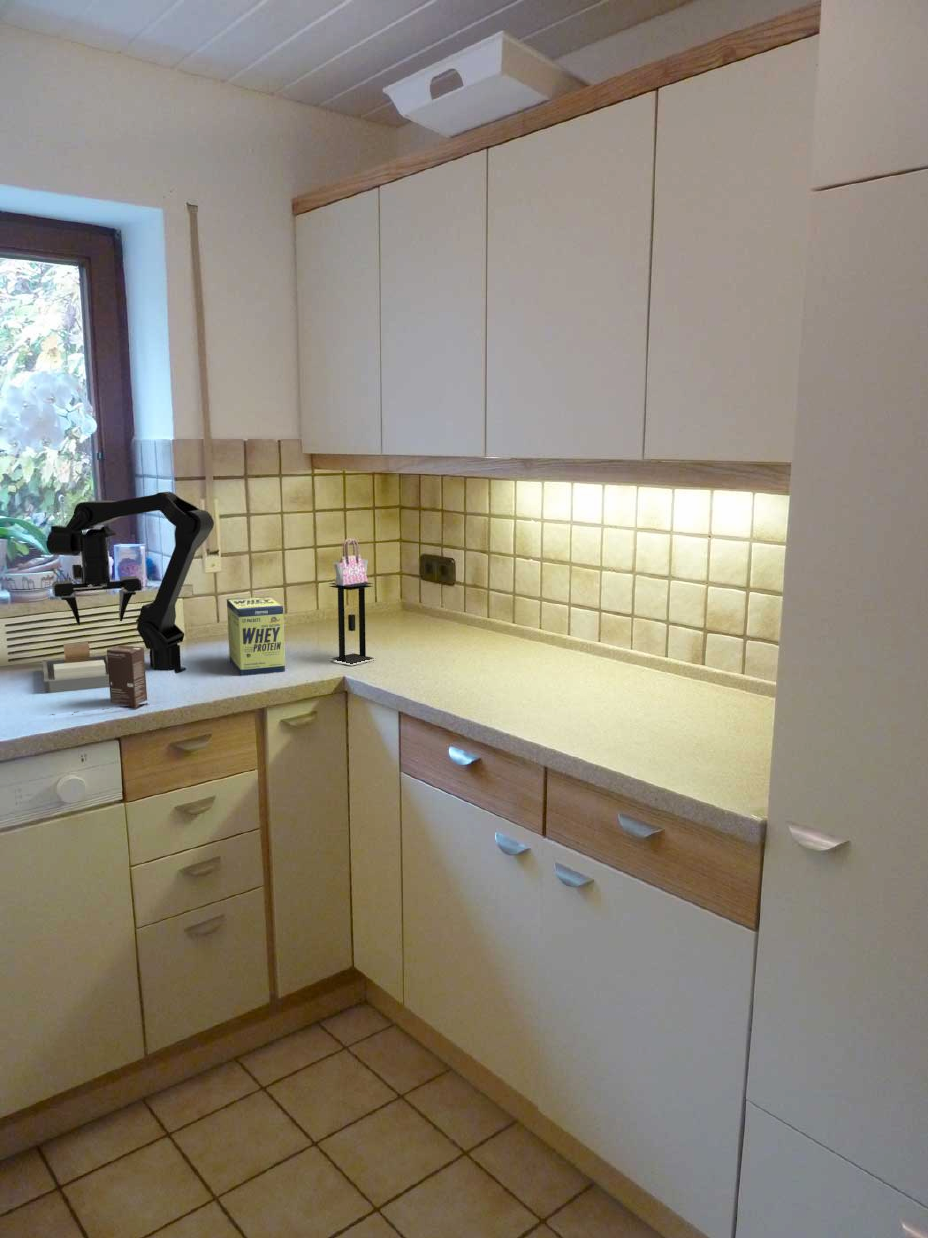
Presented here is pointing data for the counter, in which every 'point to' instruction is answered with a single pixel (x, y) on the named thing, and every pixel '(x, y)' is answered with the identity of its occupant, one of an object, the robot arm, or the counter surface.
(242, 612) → the protein box
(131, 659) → the box
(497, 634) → the counter surface
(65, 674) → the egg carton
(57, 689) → the tote
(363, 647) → the handbag
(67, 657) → the tea tin
